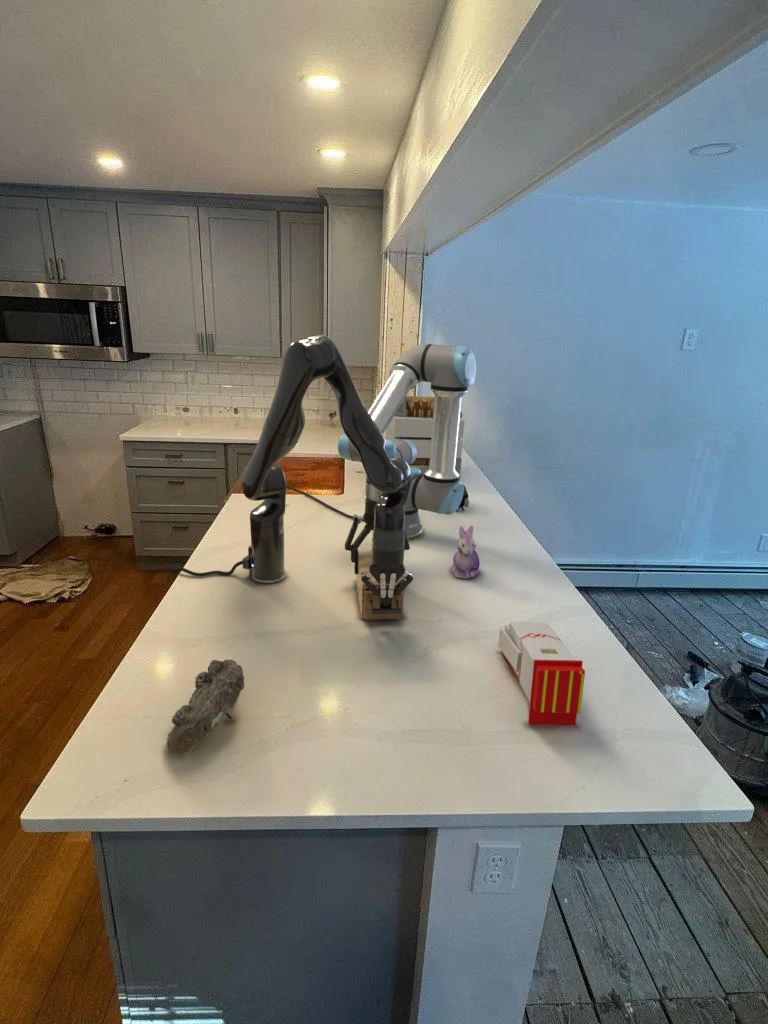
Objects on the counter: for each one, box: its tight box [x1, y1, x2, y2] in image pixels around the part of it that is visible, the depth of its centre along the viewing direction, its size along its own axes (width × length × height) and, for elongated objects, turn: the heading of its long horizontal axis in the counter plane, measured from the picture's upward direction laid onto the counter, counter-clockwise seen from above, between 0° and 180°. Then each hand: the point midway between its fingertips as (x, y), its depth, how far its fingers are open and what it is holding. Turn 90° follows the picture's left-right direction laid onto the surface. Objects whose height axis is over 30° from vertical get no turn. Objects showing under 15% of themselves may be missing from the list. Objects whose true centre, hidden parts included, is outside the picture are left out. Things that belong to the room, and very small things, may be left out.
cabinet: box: [355, 550, 405, 619], centre depth 153 cm, size 20×11×10 cm, turn 6°
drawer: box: [363, 588, 404, 621], centre depth 148 cm, size 25×9×8 cm, turn 6°
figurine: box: [451, 524, 481, 580], centre depth 170 cm, size 9×10×15 cm
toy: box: [497, 621, 586, 727], centre depth 121 cm, size 12×13×30 cm
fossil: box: [166, 658, 245, 754], centre depth 106 cm, size 22×10×15 cm
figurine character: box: [455, 485, 470, 512], centre depth 229 cm, size 7×8×15 cm
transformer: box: [385, 395, 465, 482], centre depth 268 cm, size 34×33×41 cm
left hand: (385, 609), depth 138 cm, fingers closed
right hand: (376, 572), depth 160 cm, fingers closed on cabinet, 11 cm apart
